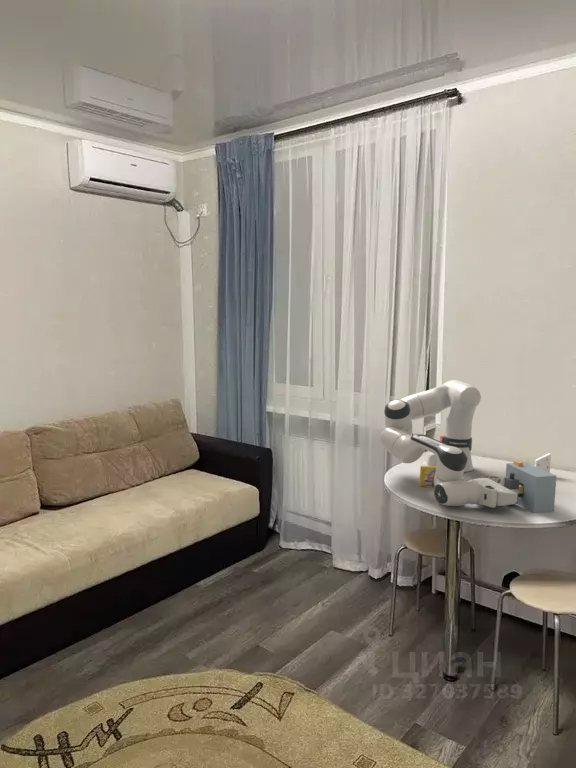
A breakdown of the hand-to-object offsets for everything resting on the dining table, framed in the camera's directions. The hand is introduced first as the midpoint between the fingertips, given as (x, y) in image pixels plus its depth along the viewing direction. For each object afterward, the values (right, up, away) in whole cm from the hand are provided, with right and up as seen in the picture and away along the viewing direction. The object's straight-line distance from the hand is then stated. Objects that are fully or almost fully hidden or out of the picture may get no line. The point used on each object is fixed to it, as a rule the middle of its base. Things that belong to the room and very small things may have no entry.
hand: (513, 489), depth 214 cm
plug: (+1, -5, +1) cm, 5 cm away
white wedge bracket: (+27, -1, +39) cm, 47 cm away
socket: (+6, -6, +2) cm, 9 cm away
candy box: (-21, -3, +23) cm, 31 cm away
